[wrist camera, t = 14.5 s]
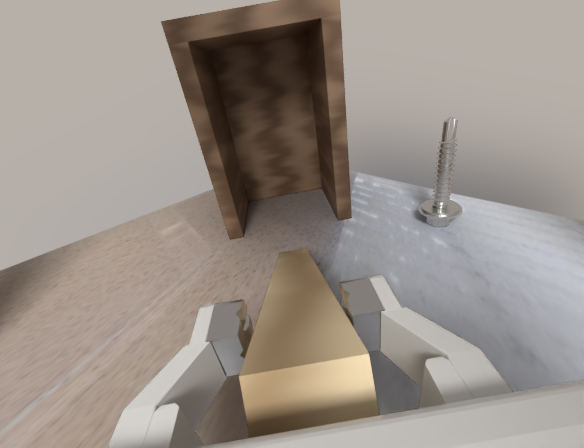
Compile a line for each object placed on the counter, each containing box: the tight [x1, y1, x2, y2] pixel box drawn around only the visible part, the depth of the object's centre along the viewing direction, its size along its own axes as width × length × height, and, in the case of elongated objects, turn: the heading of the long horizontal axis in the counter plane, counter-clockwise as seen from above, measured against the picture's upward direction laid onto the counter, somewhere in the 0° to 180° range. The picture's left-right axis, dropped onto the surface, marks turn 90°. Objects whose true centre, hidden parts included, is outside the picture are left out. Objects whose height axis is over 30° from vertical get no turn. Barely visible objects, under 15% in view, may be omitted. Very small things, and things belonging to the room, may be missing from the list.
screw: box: [419, 117, 462, 227], centre depth 32 cm, size 13×5×5 cm
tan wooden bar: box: [239, 248, 379, 438], centre depth 18 cm, size 3×24×3 cm, turn 5°
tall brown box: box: [161, 0, 352, 239], centre depth 40 cm, size 18×15×26 cm
